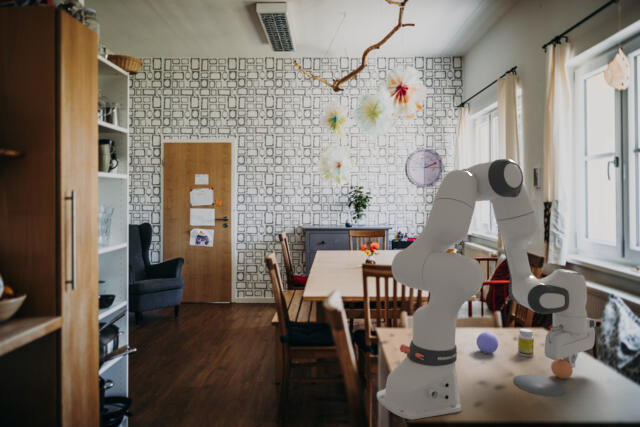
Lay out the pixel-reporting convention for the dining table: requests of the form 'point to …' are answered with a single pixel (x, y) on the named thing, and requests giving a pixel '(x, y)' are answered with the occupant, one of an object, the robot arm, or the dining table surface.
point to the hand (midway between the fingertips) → (569, 367)
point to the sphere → (487, 342)
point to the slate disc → (539, 385)
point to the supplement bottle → (525, 342)
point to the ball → (561, 368)
